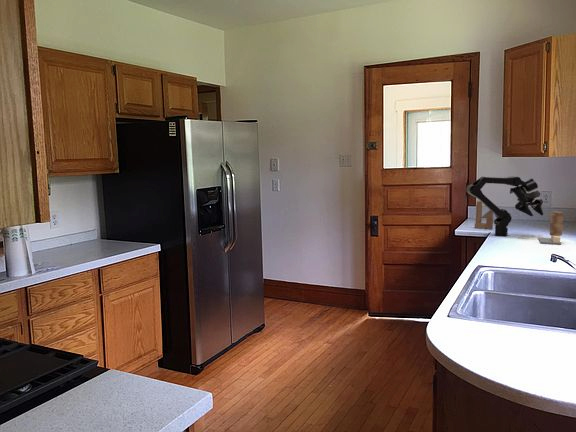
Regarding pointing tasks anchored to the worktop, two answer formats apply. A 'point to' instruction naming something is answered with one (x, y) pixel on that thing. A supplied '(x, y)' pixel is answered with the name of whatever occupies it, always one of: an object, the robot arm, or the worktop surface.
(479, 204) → the wooden angular frame
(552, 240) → the stand
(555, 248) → the worktop surface
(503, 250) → the worktop surface
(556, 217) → the post
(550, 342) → the worktop surface
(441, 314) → the worktop surface
